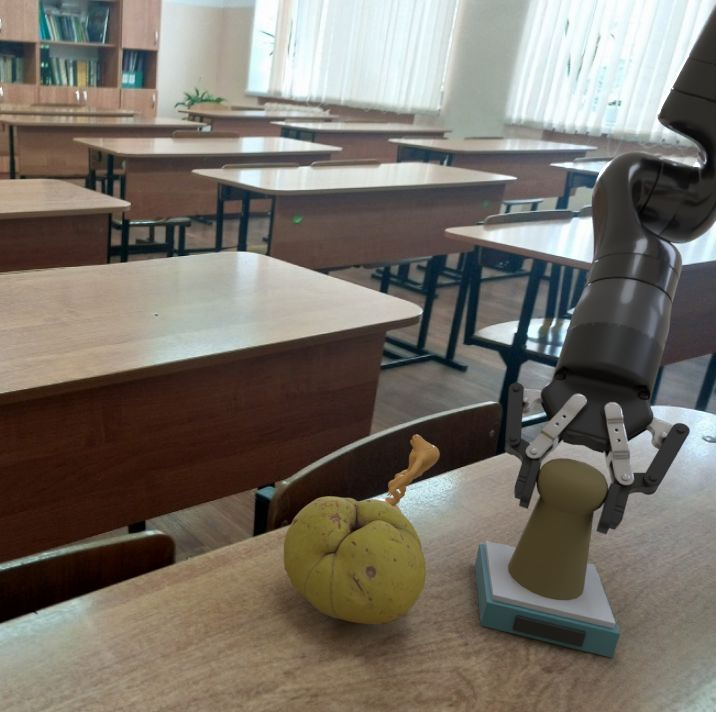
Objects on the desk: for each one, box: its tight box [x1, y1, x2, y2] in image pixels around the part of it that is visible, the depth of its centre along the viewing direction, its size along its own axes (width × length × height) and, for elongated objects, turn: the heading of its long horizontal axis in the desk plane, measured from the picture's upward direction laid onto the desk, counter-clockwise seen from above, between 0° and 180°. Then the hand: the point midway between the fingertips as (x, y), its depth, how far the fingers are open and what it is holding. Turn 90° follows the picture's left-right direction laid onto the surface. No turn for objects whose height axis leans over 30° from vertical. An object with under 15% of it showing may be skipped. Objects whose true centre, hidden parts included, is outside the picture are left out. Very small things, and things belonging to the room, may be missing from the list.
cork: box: [508, 457, 609, 600], centre depth 62 cm, size 6×6×11 cm
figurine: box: [375, 434, 441, 514], centre depth 71 cm, size 8×6×12 cm
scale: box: [474, 540, 621, 659], centre depth 64 cm, size 10×9×3 cm
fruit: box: [283, 495, 427, 625], centre depth 62 cm, size 11×12×10 cm
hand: (562, 516), depth 60 cm, fingers closed on cork, 5 cm apart
